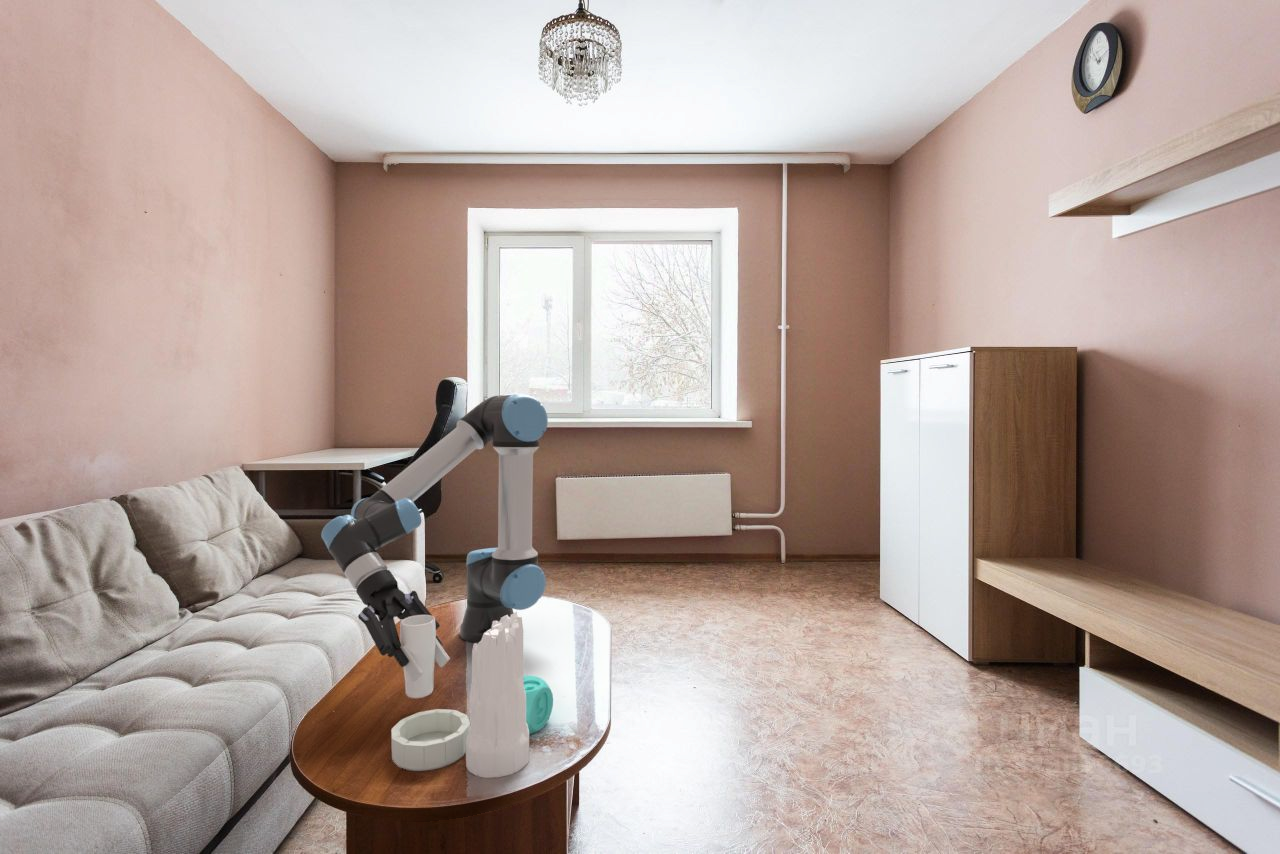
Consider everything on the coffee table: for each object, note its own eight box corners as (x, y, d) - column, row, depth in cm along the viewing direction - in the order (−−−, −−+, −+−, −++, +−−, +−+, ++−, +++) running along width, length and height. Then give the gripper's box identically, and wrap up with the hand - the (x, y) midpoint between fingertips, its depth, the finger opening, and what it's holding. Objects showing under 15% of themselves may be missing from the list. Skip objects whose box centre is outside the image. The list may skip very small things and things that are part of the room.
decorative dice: (520, 711, 127) (519, 672, 127) (553, 720, 123) (553, 679, 123) (494, 729, 120) (494, 688, 119) (529, 739, 116) (529, 696, 116)
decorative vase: (470, 783, 102) (470, 630, 101) (461, 751, 112) (460, 611, 111) (536, 768, 106) (536, 621, 106) (522, 739, 116) (521, 603, 116)
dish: (439, 725, 121) (439, 703, 121) (484, 746, 113) (484, 722, 113) (376, 754, 111) (376, 730, 111) (421, 780, 103) (421, 753, 103)
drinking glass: (395, 694, 127) (393, 620, 127) (426, 683, 132) (425, 612, 132) (412, 704, 123) (410, 628, 122) (443, 692, 128) (442, 619, 127)
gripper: (399, 579, 142) (456, 662, 136) (322, 603, 125) (383, 701, 118) (416, 558, 140) (475, 642, 133) (340, 580, 122) (403, 678, 116)
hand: (432, 669), depth 126 cm, fingers closed on drinking glass, 6 cm apart
